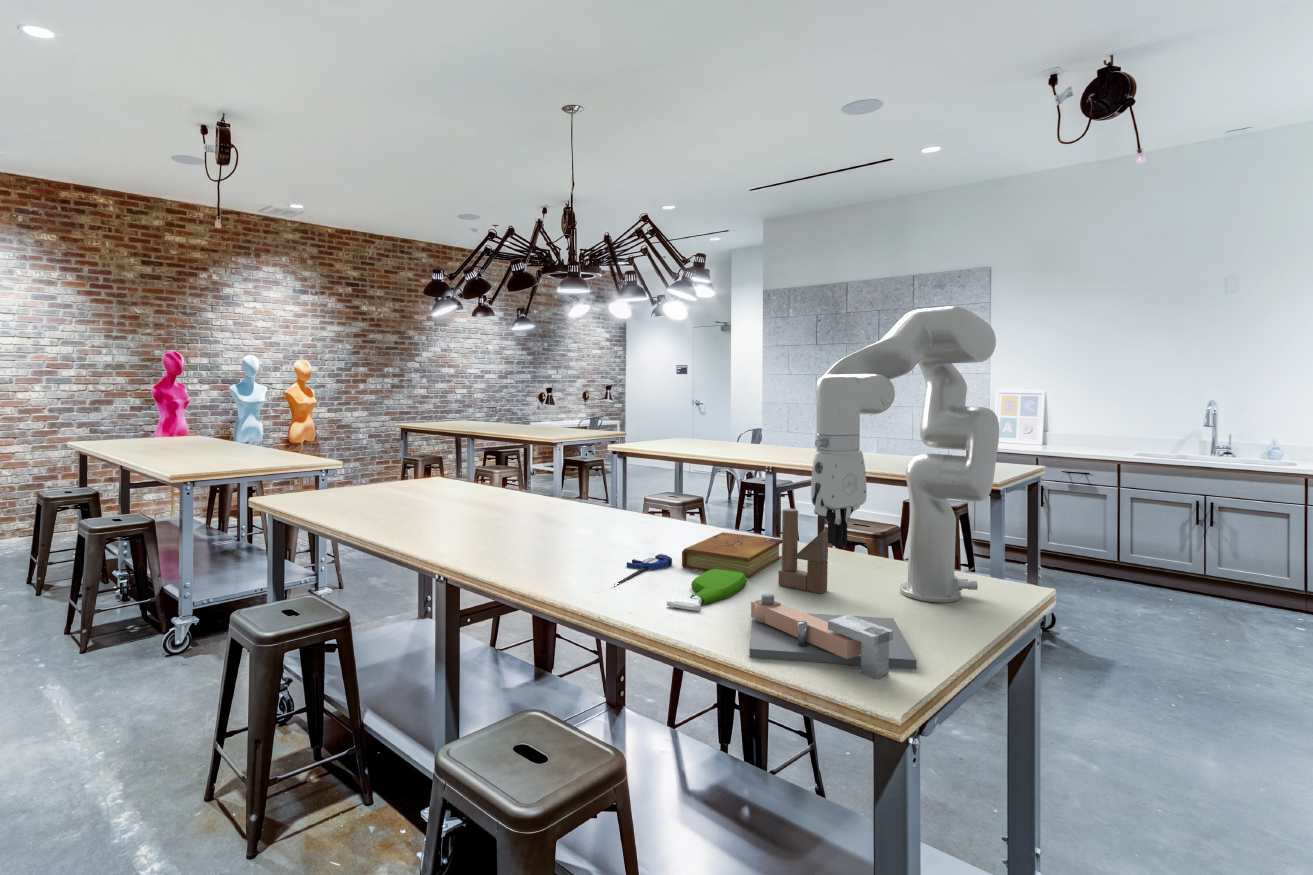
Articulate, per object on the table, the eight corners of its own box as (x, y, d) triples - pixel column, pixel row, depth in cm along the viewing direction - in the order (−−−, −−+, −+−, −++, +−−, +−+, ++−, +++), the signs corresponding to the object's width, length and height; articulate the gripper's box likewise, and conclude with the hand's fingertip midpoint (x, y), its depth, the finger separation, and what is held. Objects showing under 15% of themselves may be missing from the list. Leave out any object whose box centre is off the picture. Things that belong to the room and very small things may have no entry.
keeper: (795, 653, 112) (796, 613, 112) (821, 644, 116) (822, 606, 115) (865, 683, 100) (866, 639, 100) (892, 672, 104) (893, 630, 104)
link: (748, 617, 124) (749, 594, 124) (768, 612, 127) (768, 590, 127) (844, 659, 104) (845, 632, 104) (865, 653, 107) (866, 626, 107)
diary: (719, 551, 187) (720, 531, 187) (781, 560, 177) (782, 539, 177) (681, 569, 167) (681, 547, 167) (749, 580, 158) (749, 556, 157)
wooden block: (821, 594, 145) (822, 515, 144) (777, 585, 152) (778, 509, 150) (827, 590, 148) (829, 512, 147) (785, 582, 154) (786, 507, 153)
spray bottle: (750, 585, 153) (707, 618, 132) (708, 578, 158) (660, 609, 137) (750, 573, 153) (707, 604, 131) (708, 567, 158) (660, 595, 137)
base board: (892, 625, 125) (893, 618, 125) (916, 668, 106) (916, 659, 106) (752, 617, 130) (752, 610, 130) (749, 657, 110) (749, 648, 110)
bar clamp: (643, 550, 176) (676, 555, 171) (643, 559, 176) (676, 564, 172) (576, 586, 147) (614, 593, 143) (576, 597, 148) (614, 603, 143)
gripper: (824, 448, 109) (823, 554, 111) (882, 442, 117) (881, 541, 119) (792, 445, 116) (792, 545, 117) (849, 440, 124) (849, 534, 125)
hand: (837, 543), depth 118 cm, fingers closed
